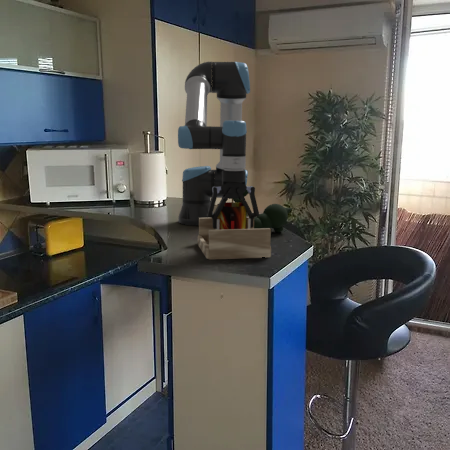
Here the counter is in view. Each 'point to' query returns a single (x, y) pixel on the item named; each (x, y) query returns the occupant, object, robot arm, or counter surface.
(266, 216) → the toy figurine
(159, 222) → the counter surface
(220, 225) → the mug
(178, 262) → the counter surface
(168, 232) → the counter surface
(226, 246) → the open wooden box
